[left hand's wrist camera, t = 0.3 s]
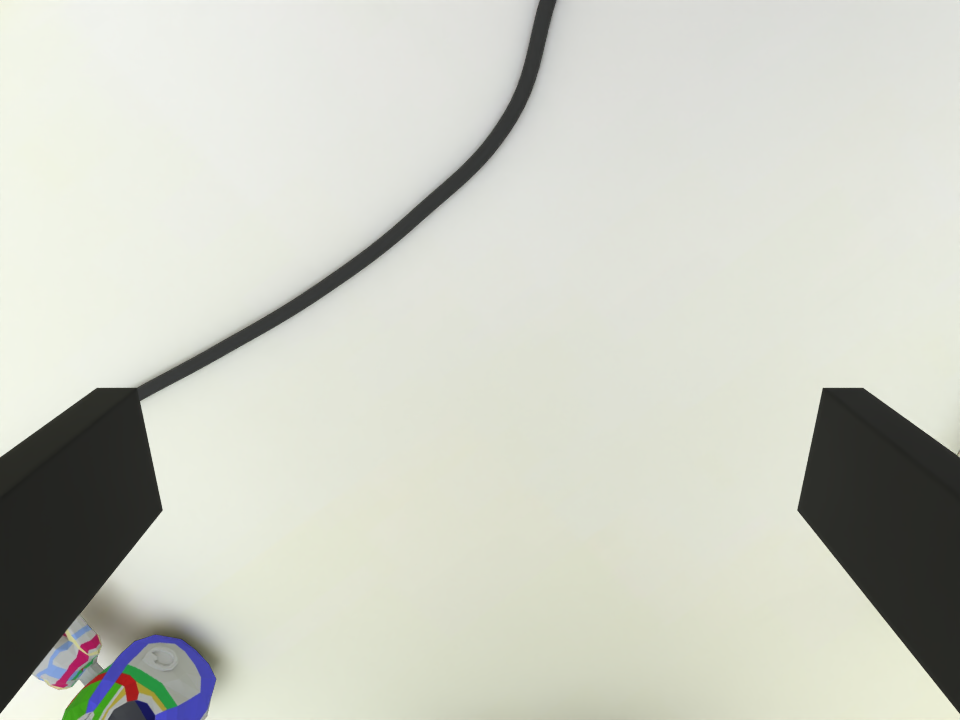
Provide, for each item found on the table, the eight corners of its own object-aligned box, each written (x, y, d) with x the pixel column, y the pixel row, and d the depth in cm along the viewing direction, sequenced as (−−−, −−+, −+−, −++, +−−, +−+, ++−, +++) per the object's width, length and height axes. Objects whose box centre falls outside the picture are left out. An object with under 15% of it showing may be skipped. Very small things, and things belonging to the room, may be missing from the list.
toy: (-210, 454, 38) (193, 751, 41) (-76, 406, 46) (253, 657, 49) (-265, 561, 41) (116, 833, 44) (-130, 498, 49) (184, 730, 52)
